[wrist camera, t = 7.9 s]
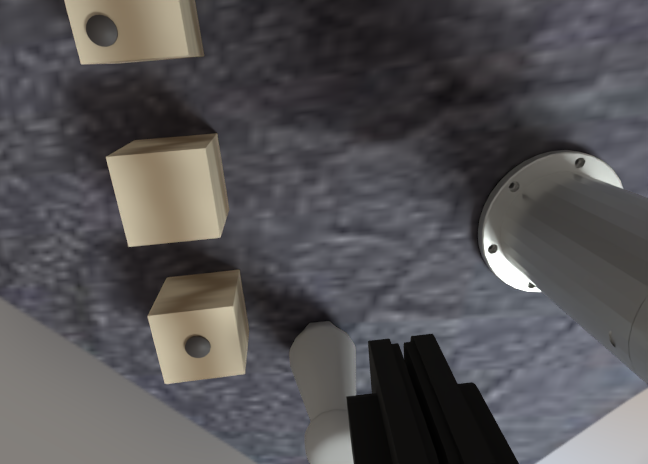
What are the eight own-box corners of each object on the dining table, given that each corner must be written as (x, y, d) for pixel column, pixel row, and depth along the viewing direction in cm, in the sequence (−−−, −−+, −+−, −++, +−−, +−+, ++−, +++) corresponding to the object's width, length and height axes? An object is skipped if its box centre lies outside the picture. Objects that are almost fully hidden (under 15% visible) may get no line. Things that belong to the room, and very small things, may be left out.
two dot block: (187, -43, 29) (166, -69, 23) (204, 56, 31) (188, 55, 25) (93, -37, 28) (46, -62, 22) (116, 63, 30) (79, 64, 25)
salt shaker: (335, 372, 42) (360, 499, 30) (279, 356, 40) (280, 482, 28) (361, 322, 40) (398, 436, 28) (303, 304, 39) (315, 414, 27)
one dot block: (239, 269, 37) (233, 307, 31) (249, 329, 39) (244, 375, 33) (166, 277, 37) (146, 317, 31) (180, 337, 39) (164, 386, 33)
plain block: (217, 133, 33) (205, 148, 27) (229, 209, 35) (220, 237, 29) (134, 140, 32) (105, 156, 27) (152, 216, 35) (128, 247, 29)
